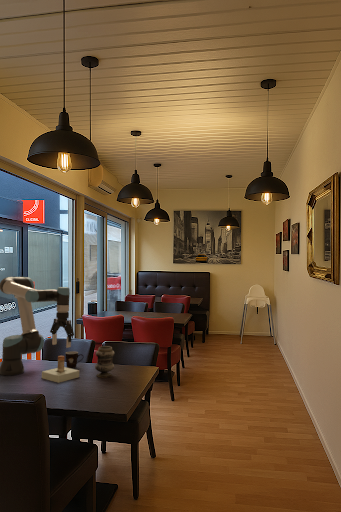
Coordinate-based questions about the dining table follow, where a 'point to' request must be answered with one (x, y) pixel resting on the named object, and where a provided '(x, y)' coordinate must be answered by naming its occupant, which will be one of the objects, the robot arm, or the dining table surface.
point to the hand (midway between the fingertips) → (61, 345)
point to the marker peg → (61, 364)
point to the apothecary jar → (104, 361)
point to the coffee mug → (72, 359)
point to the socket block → (60, 374)
